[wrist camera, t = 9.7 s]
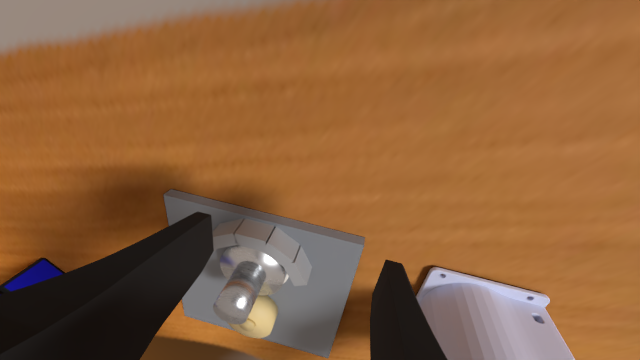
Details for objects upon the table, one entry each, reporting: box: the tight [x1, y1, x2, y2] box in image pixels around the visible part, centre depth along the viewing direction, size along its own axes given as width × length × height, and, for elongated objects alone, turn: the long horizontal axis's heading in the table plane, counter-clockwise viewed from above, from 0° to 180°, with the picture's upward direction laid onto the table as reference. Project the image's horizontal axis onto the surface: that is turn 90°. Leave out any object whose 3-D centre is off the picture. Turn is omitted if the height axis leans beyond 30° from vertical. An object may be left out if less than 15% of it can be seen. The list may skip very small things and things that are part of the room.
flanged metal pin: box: [213, 245, 287, 324], centre depth 23 cm, size 6×6×6 cm
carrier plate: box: [163, 189, 365, 358], centre depth 27 cm, size 18×18×3 cm
